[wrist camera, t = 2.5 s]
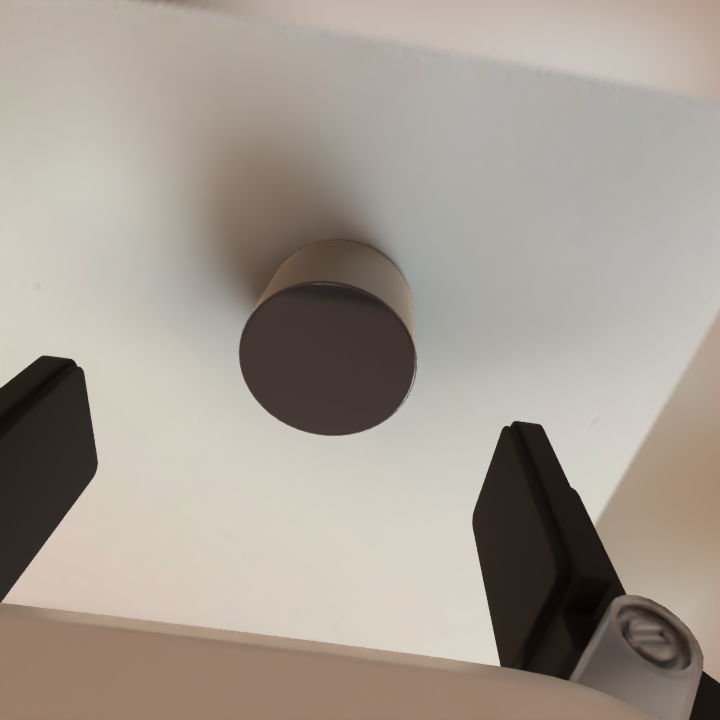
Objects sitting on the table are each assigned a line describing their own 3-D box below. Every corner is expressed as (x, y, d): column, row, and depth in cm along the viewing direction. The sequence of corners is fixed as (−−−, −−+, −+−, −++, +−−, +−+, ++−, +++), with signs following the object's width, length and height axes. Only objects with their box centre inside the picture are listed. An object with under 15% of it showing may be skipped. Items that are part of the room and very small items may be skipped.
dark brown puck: (381, 215, 15) (378, 253, 12) (431, 348, 17) (440, 410, 14) (241, 270, 16) (204, 318, 13) (305, 388, 18) (286, 454, 15)
